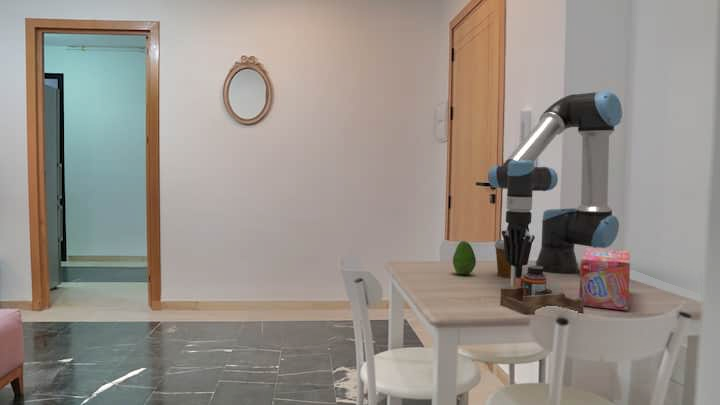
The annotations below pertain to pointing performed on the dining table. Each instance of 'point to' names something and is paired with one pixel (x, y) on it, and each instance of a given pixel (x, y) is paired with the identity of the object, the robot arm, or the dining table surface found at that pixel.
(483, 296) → the dining table surface
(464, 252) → the avocado
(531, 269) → the supplement bottle
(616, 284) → the box
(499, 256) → the disposable coffee cup
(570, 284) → the dining table surface
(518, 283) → the bar
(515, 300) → the base
